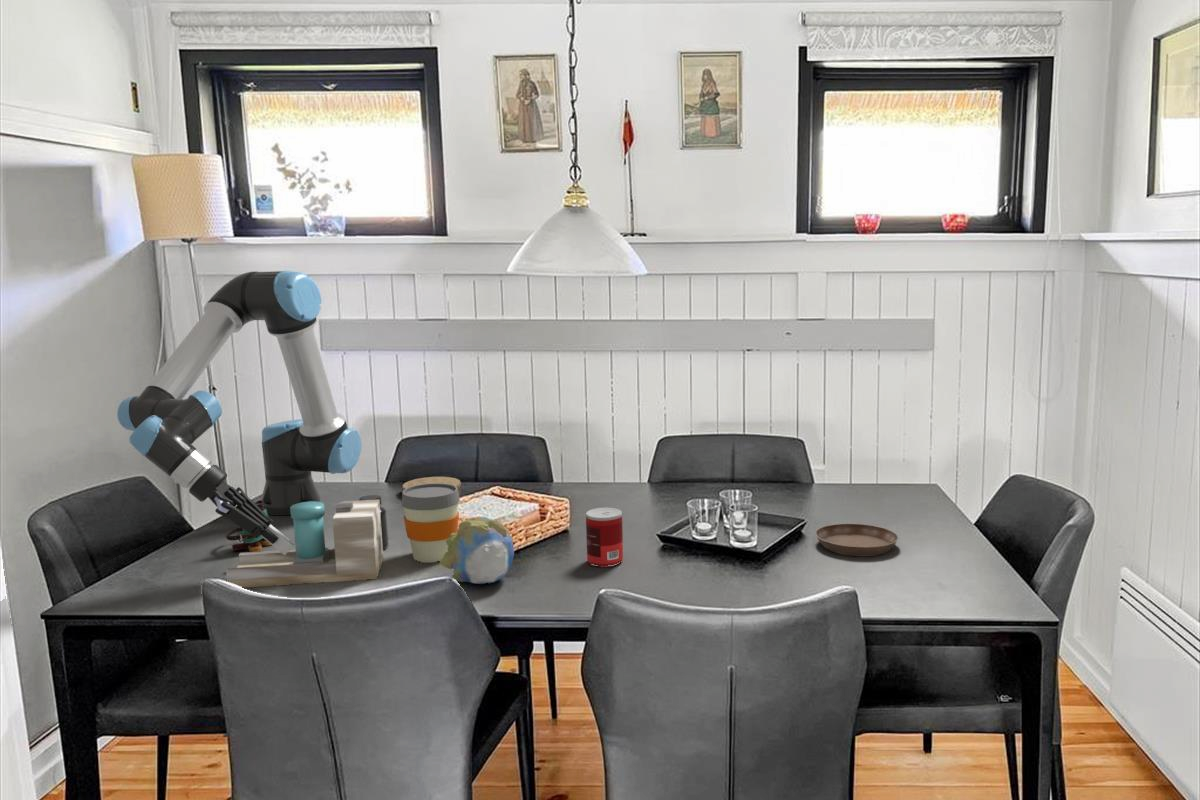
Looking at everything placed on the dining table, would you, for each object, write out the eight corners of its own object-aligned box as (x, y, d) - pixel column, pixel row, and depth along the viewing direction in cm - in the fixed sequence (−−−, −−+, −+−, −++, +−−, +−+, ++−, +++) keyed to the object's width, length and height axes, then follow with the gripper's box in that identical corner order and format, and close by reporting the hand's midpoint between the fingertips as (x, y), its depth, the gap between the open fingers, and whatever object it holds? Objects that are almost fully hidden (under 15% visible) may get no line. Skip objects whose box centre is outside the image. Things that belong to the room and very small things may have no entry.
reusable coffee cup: (436, 568, 203) (432, 500, 201) (392, 559, 210) (388, 493, 207) (473, 551, 214) (470, 486, 211) (431, 543, 220) (428, 480, 218)
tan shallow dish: (392, 494, 265) (391, 484, 265) (440, 483, 276) (440, 473, 275) (423, 505, 254) (422, 494, 253) (472, 493, 264) (472, 483, 264)
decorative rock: (490, 517, 186) (511, 499, 200) (417, 538, 189) (443, 519, 204) (513, 584, 187) (532, 561, 201) (440, 603, 190) (464, 580, 205)
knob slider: (298, 559, 206) (294, 502, 203) (331, 558, 206) (326, 500, 204) (291, 571, 198) (286, 511, 196) (325, 569, 199) (320, 509, 197)
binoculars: (234, 500, 225) (272, 498, 222) (242, 544, 226) (280, 541, 224) (212, 511, 216) (251, 508, 214) (220, 556, 217) (259, 553, 215)
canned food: (627, 557, 207) (626, 508, 206) (616, 569, 200) (615, 519, 198) (594, 554, 210) (593, 506, 208) (582, 566, 203) (580, 516, 201)
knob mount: (242, 567, 207) (236, 502, 205) (383, 558, 210) (379, 495, 208) (226, 588, 194) (220, 519, 192) (376, 579, 198) (372, 511, 195)
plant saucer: (833, 530, 223) (833, 518, 223) (908, 543, 213) (909, 529, 213) (802, 551, 209) (802, 538, 209) (881, 565, 199) (882, 551, 199)
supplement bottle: (395, 545, 220) (392, 494, 218) (376, 554, 214) (373, 502, 212) (371, 542, 222) (367, 492, 220) (351, 551, 216) (348, 499, 214)
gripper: (197, 481, 203) (284, 552, 207) (177, 498, 190) (270, 572, 195) (221, 456, 203) (307, 527, 207) (203, 470, 190) (295, 546, 194)
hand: (289, 549), depth 201 cm, fingers closed
